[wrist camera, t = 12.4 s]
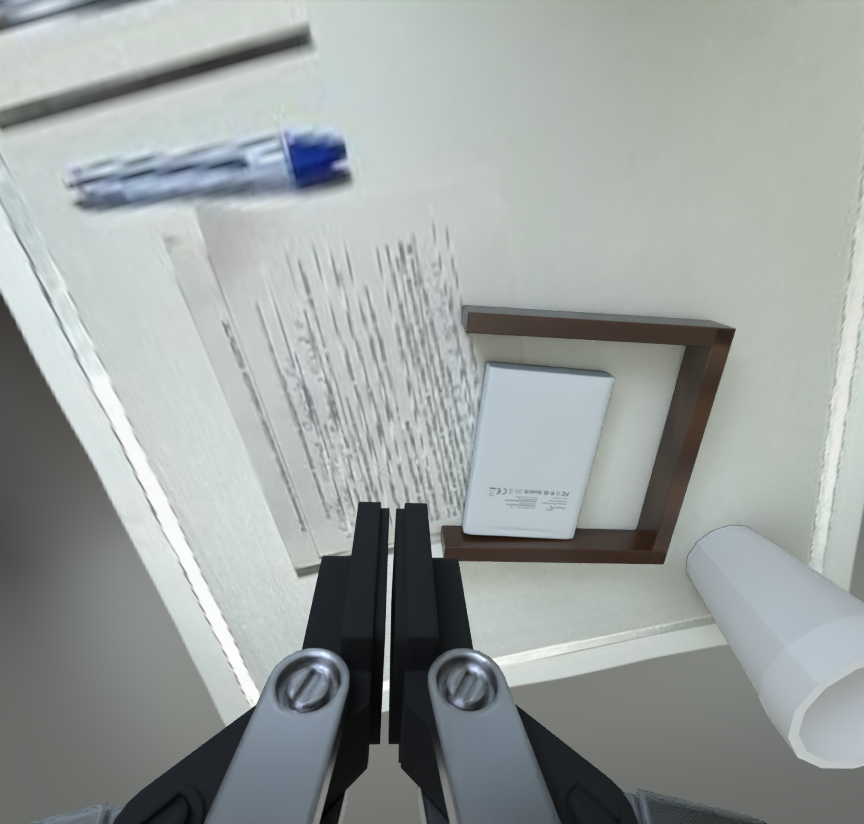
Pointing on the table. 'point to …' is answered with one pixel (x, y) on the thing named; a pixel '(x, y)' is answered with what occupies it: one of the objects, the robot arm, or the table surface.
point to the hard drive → (534, 449)
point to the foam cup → (789, 641)
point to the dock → (675, 450)
